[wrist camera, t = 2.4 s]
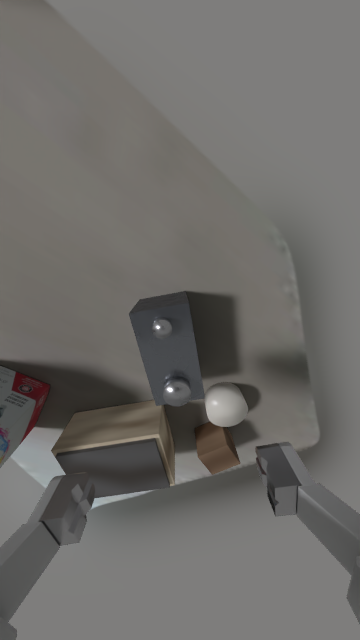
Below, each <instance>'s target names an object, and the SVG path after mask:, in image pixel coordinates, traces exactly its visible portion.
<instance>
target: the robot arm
mask: <svg viewBox="0 0 360 640" xmlns="http://www.w3.org/2000/svg"><path fill="white" fill-rule="evenodd" d="M255 450H256V454H257V458H256V463H257V468H258V472H259V475H260V478H261V480H262V483H263V484H264V485H265V486H266V487H267V495H268V499H269V501H270V504H271V506H272V509H273V511H274V514H275V516H285V515H295V514H297V516H298V518H299V519H300V520H301V521H302V522H303V523H304V524H305V525H306V526H307V527H308V528H309V530H310V531H311V532H312V533H313V534H314V535H315V536H316V537H317V538H318V539H319V540H320V542H321V543H322V544H323V545H324V546H325V547H326V548H327V549H328V550H329V551H330V552H331V554H332V555H333V556H334V557H335V558H336V559H337V560H338V561H339V562H340V563H341V565H342V566H343V567H344V568H345V569H346V570H347V571H348V572H349V573H350V574H351V575H352V576H351V580H350V584H349V588H348V594H347V599H348V601H349V604H350V606H351V608H352V610H353V612H354V614H355V616H356V618H357V620H358V622H359V624H360V514H359V513H357V512H356V511H355V510H353V509H352V508H351V507H350V506H348V505H347V504H346V503H344V502H343V501H342V500H340V499H339V498H338V497H337V496H335V495H334V494H333V493H332V492H330V491H329V490H328V489H326V488H325V487H324V486H323V485H321V484H320V483H315V481H314V480H313V478H312V477H311V475H310V473H309V472H308V470H307V469H306V467H305V466H304V464H303V462H302V461H301V459H300V457H299V456H298V454H297V453H296V451H295V449H294V448H293V446H292V445H291V444H290V443H289V442H283V443H274V444H269V445H263V446H257V447H256V448H255ZM89 477H90V476H89V475H88V473H87V472H84V473H77V474H70V475H62V476H55V477H54V478H53V479H52V480H51V481H50V483H49V485H48V486H47V488H46V490H45V492H44V493H43V495H42V497H41V499H40V500H39V502H38V504H37V506H36V507H35V509H34V511H33V513H32V514H31V516H30V518H29V520H28V522H27V523H26V524H23V525H22V526H21V527H20V528H19V529H18V530H17V531H16V532H15V533H14V534H13V535H12V536H11V537H10V538H9V539H8V540H7V541H6V542H5V543H4V544H3V545H2V546H1V547H0V640H16V637H17V630H16V629H15V628H14V627H13V626H11V625H10V624H9V623H8V622H9V620H10V619H11V617H12V616H13V615H14V613H15V612H16V610H17V609H18V607H19V606H20V604H21V603H22V602H23V600H24V599H25V597H26V596H27V594H28V593H29V591H30V590H31V588H32V587H33V586H34V584H35V583H36V581H37V580H38V579H39V577H40V576H41V574H42V573H43V571H44V570H45V568H46V567H47V566H48V564H49V563H50V561H51V560H52V558H53V557H54V555H55V554H56V553H57V551H58V550H59V548H60V546H62V545H68V544H73V543H79V541H80V539H81V536H82V533H83V531H84V528H85V525H86V522H87V519H86V514H87V512H88V511H89V510H90V509H91V507H92V504H93V501H94V496H95V486H94V484H93V482H91V481H89V480H88V479H89Z"/></svg>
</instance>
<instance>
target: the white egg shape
mask: <svg viewBox="0 0 360 640" xmlns="http://www.w3.org/2000/svg"><path fill="white" fill-rule="evenodd" d="M204 401H205V406H206V411H207V416H208V419H209V420H210V421H211V422H212V423H213V424H215V425H217V426H220V427H230V426H234V425H237V424H238V423H240V422H241V421H243V420H244V419H245V417H246V416H247V413H248V406H247V403H246V401H245V399H244V397H243V395H242V393H241V391H240V389H239V388H238V387H237V386H236V385H234V384H232V383H229V382H221V383H217V384H215V385H213V386H211V387H210V388H209V389H208V390H207V391H206V393H205V398H204Z"/></svg>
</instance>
